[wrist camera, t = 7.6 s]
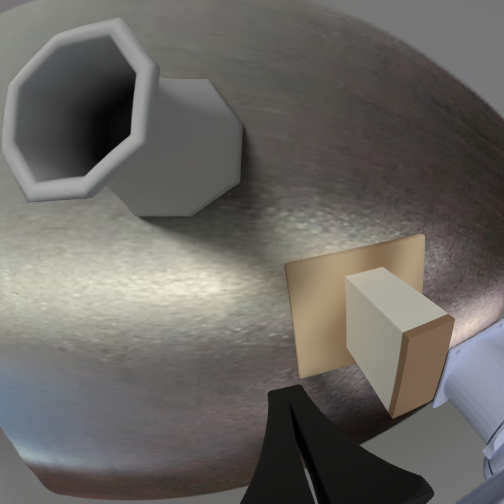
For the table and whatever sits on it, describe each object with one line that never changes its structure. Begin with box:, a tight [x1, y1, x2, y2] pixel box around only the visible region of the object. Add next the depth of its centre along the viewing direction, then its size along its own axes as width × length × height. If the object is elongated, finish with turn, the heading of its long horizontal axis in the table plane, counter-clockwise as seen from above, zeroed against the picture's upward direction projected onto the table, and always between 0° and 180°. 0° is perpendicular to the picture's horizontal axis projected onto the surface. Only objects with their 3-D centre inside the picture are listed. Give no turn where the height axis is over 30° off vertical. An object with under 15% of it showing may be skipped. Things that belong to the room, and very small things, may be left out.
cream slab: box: [345, 267, 455, 419], centre depth 13 cm, size 2×5×6 cm, turn 10°
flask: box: [1, 17, 243, 217], centre depth 8 cm, size 7×7×10 cm
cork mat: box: [285, 234, 425, 379], centre depth 16 cm, size 9×8×1 cm
